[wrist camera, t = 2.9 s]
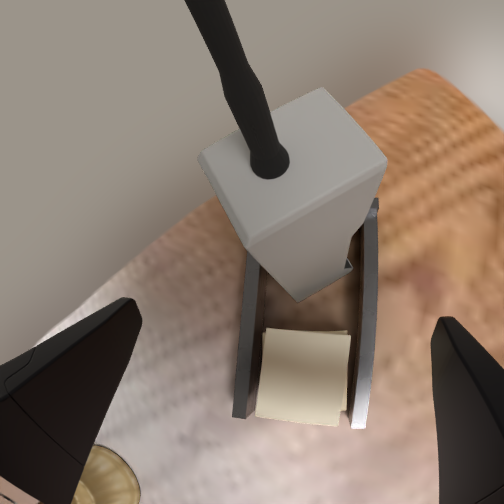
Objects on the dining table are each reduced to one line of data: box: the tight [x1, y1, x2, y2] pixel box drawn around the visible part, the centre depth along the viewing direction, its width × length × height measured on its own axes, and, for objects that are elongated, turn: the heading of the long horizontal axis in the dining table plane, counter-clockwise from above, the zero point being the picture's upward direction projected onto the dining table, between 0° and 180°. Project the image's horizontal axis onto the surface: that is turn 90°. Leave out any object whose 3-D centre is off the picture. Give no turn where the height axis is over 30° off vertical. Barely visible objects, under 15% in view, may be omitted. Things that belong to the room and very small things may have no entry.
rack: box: [232, 198, 379, 429], centre depth 22 cm, size 16×9×4 cm, turn 175°
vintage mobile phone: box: [185, 0, 387, 303], centre depth 13 cm, size 4×5×25 cm
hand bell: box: [38, 446, 140, 504], centre depth 16 cm, size 8×8×16 cm
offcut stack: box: [255, 328, 351, 427], centre depth 21 cm, size 6×6×5 cm
